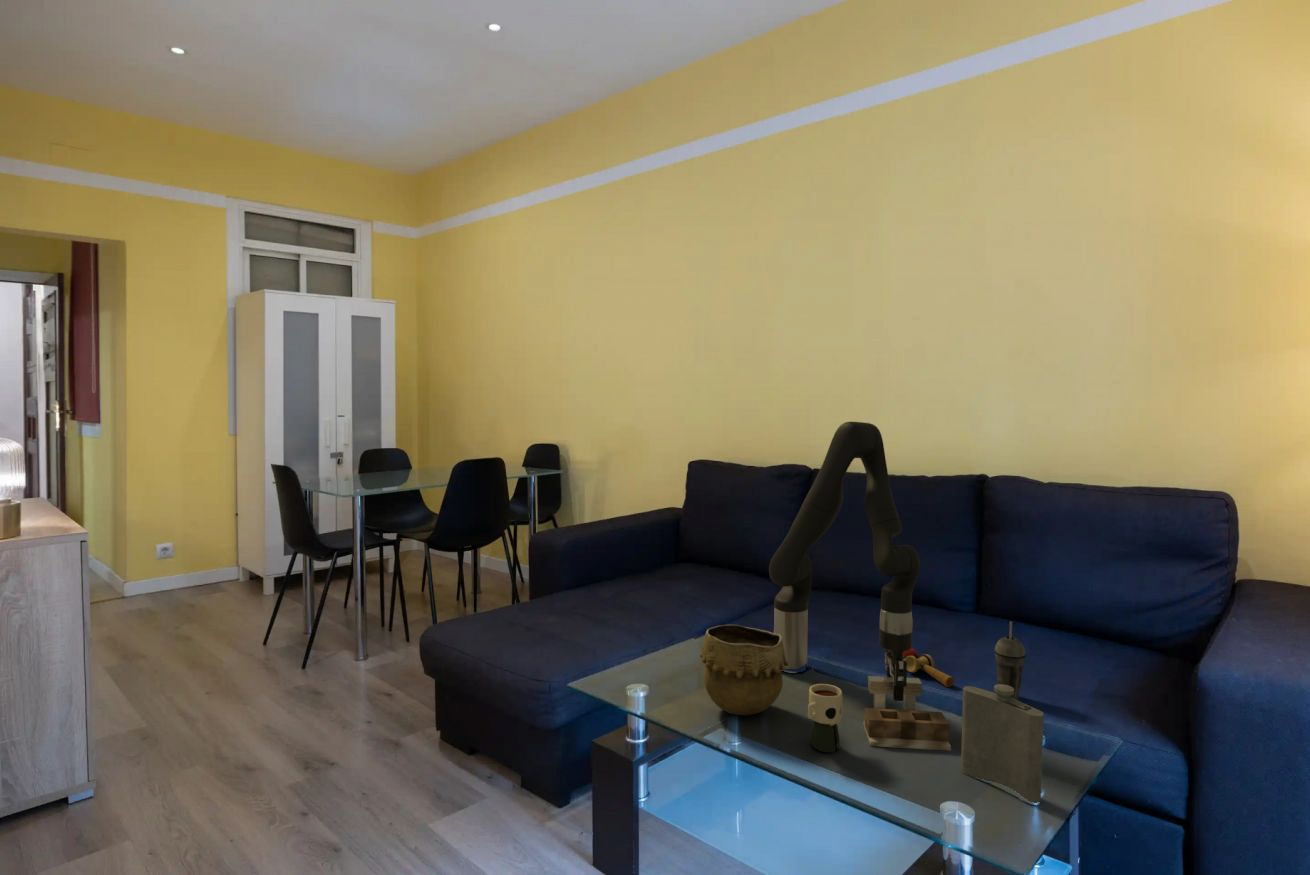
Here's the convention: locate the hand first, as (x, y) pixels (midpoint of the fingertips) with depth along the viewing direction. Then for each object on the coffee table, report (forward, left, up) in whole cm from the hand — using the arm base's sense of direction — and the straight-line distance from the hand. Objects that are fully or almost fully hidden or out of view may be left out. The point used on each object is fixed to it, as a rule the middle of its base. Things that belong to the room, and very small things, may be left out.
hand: (894, 692), depth 176 cm
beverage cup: (+30, +12, -5) cm, 33 cm away
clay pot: (-37, -4, -5) cm, 37 cm away
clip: (0, 0, -5) cm, 5 cm away
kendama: (+12, +24, -5) cm, 28 cm away
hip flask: (+14, -31, -5) cm, 35 cm away
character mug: (-19, -20, -5) cm, 28 cm away
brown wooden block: (0, -13, -5) cm, 14 cm away
